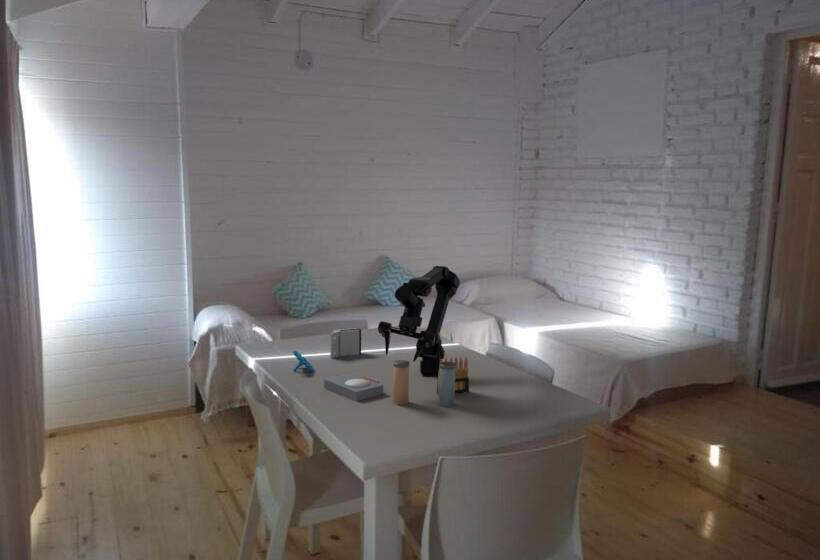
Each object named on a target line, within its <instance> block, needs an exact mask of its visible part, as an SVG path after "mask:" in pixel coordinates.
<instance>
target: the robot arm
mask: <svg viewBox="0 0 820 560" xmlns="http://www.w3.org/2000/svg"><path fill="white" fill-rule="evenodd" d="M460 284H461V282H460V278H459V276H458V275H457V274H456V273H455V272H453V271H452V270H450V269H449V267H447V266H444V265H435V266H433V267H432V269H431V270H430V271H428V272H427V273H425V274H424V275H422V276H417V277H413V278H410V279H409V280H408V282H403V285H401V286H399V287H398V288H397V289H396V290H395V292H394V297H395V299H396V300H397V302H398V303H399V304H400V305H401V306H402V307H403V308H404V309H403V312H402V315H401V316H400V318H399V323H398V327H393V325H392V322H388V321H383V320H381V321H379V322H378V326H377V331H378V334H380V335H381V337H382V338H384V342H385V356H387V355H388V354H389V353H388V352H389V350H390V343H391V339H392V338H391V336H392V335H391V334H396V335H400V336H403V337H408V338H412V339H416V340H417V341H416V343H415V348H416V350H415V354H414V356H413V359H412V360H413V361H412V362H416V360H417V359H418V358H421V359H420V360H419V372H420V374H421V375H422V377H438V372H439V363H440V359H442V360H443V359H444V358H445V352H446V350H445V349H444V346H443V345H442V344H443V342H442V338H441V334H440V333H441V330H442V326H443V323H444V320H445V316H446V313H447V308H448V305H449V302H450V299H451V298H453V296H455V295H456V293H457V292H458V288H460ZM433 287H435V290H436V297H435V301H434V304H433V308H432V310H431V314H430V318H429V321H428V325H427V328H426V329H425V330H421V331H420V332H417V331H418V328H421V326H422V323H423V317H421V314H422V311H423V308H425V307H426V304H425V302H424V299H423V298H424V297H425V298H427V297H429V295H430V294H431V293H432V290H433V289H432V288H433ZM421 297H423V298H421ZM444 360H445V359H444Z"/></svg>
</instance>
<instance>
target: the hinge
mask: <svg viewBox="0 0 820 560" xmlns="http://www.w3.org/2000/svg"><path fill="white" fill-rule="evenodd" d="M329 334H330V337H329V338H330V339H329V342H330V344H329V345H330V347H329V348H330V351H329V352H330V357H329V358H333V359H335V357H336V358H338V356H339V357H346V355H349V356H358V354H359V355H362V328H358V327H354V328H342V329H333V330H332V332H330V333H329Z"/></svg>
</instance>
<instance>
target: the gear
mask: <svg viewBox="0 0 820 560" xmlns="http://www.w3.org/2000/svg"><path fill="white" fill-rule="evenodd" d="M292 354H293V355H294V356H295V358H296V359H297V360H298V363H297V365H296V366H295V367H294V368H293V369H292V371H293V372H296V371H297V370H298V369H299V368H300V367H302V366H305V368H306V369H308V370H309V371H310V372H314V370H315V369H314V367H313V365H311V363H310V362H309V361H308V359H306V357H305V356H302V354H301V353H300V352H298V351H296V350H293V351H292Z"/></svg>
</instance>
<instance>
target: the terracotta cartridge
mask: <svg viewBox="0 0 820 560" xmlns="http://www.w3.org/2000/svg"><path fill="white" fill-rule="evenodd" d="M392 362H393V363H392V364H393V377H392V379H393V381H392V382H393V385H392V387H393V388H392V389H393V390H392V393H393V394H392V395H393V396H392V397H393V398H392V404H394V405H396V404H397V405H396V406H405V404H406V405H408V404H409V399H410V398H409V397H410V396H409V394H410V390H409V389H410V388H409V386H410V361H409V360H406V359H405V360H404V359H396V360H394V361H392Z"/></svg>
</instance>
